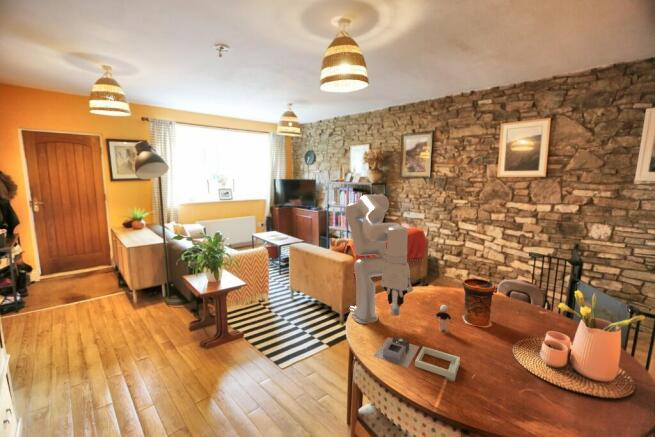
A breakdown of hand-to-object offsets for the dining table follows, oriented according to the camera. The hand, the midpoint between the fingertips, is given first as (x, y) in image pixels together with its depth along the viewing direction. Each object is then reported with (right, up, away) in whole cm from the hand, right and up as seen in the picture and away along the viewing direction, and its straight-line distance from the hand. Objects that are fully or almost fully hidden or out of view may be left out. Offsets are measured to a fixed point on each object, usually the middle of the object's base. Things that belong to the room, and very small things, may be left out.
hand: (395, 303), depth 117 cm
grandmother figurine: (+27, -19, +23) cm, 41 cm away
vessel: (+47, -18, +31) cm, 59 cm away
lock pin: (0, -4, +1) cm, 4 cm away
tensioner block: (+2, -22, +6) cm, 23 cm away
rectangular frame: (+15, -23, -3) cm, 28 cm away
